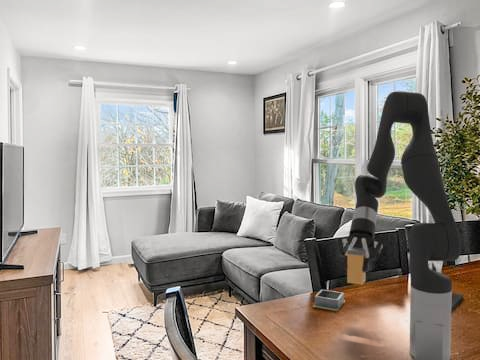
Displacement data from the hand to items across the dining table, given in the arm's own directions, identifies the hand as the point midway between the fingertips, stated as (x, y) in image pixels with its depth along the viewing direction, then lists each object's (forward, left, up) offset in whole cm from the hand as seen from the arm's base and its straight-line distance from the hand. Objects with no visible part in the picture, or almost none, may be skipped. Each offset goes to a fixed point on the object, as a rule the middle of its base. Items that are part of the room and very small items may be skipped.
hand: (355, 269), depth 119 cm
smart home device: (+28, -23, -17) cm, 40 cm away
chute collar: (+8, +10, -15) cm, 19 cm away
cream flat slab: (+8, +10, -16) cm, 20 cm away
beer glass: (+46, -19, -16) cm, 52 cm away
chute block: (+2, 0, -4) cm, 5 cm away
